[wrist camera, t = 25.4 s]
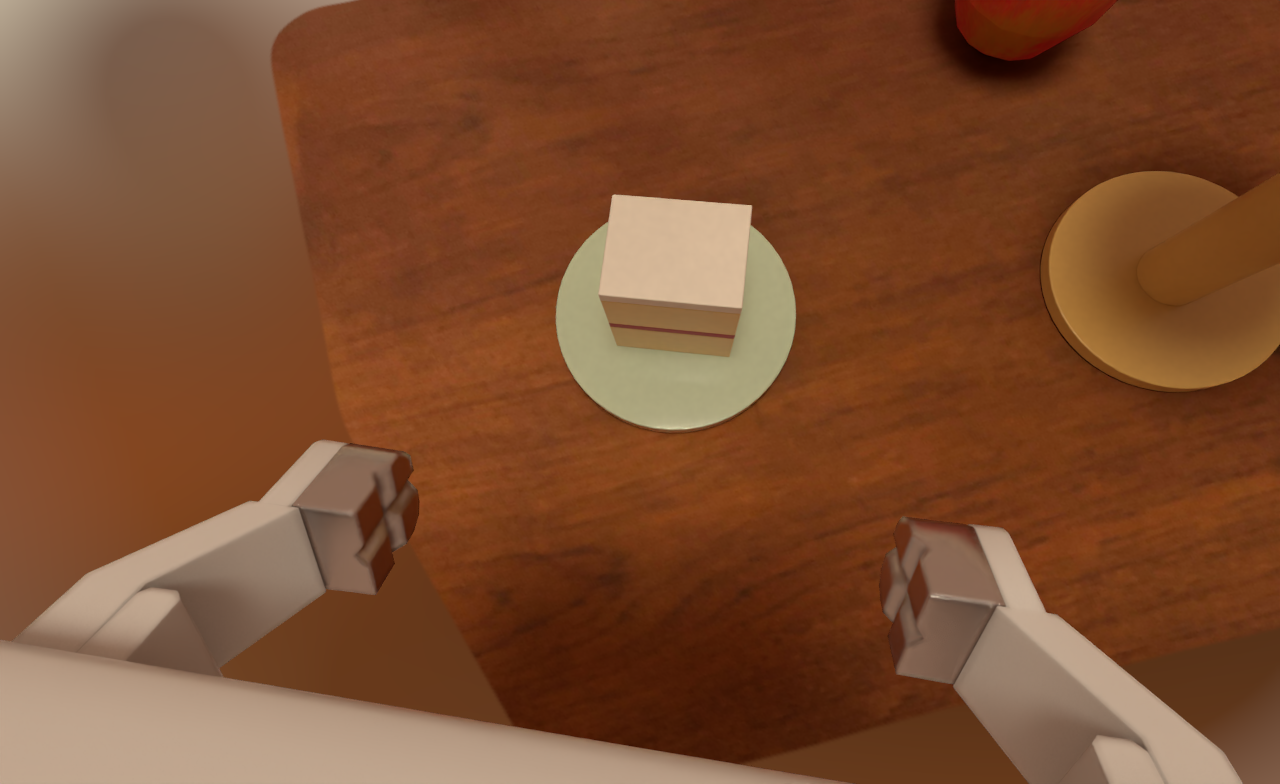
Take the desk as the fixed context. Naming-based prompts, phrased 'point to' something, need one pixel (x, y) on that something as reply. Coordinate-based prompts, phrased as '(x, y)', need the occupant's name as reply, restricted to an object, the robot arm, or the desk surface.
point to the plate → (676, 381)
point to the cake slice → (675, 273)
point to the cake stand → (1167, 279)
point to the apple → (1024, 24)
